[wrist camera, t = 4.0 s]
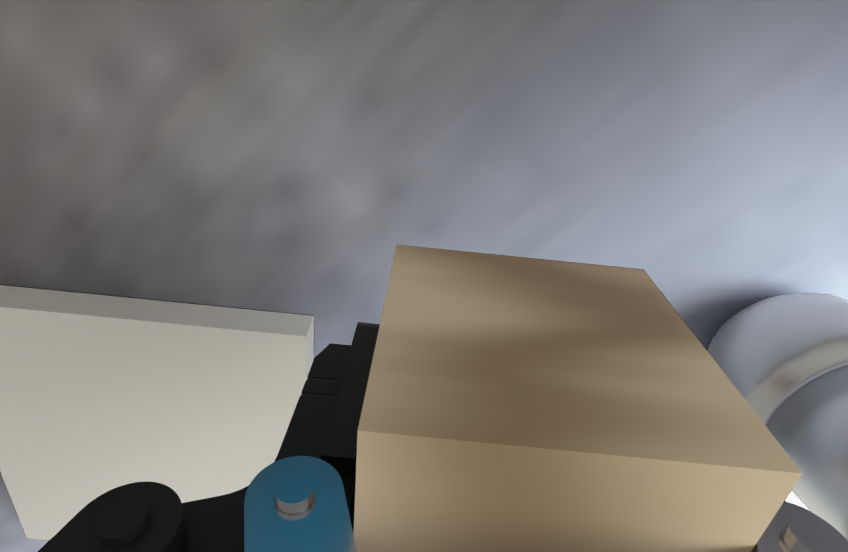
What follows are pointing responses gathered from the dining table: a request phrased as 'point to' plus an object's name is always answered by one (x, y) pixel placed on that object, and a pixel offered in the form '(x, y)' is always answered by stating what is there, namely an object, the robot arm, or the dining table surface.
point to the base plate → (139, 397)
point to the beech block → (552, 417)
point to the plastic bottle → (797, 388)
